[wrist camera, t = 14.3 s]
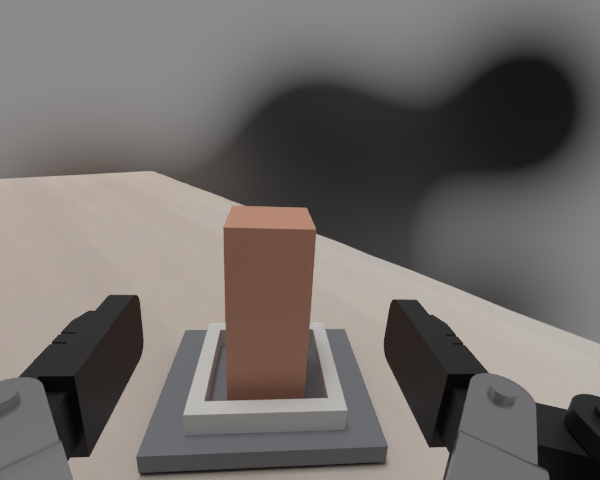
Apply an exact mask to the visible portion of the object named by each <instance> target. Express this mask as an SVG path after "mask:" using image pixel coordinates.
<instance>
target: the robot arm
mask: <svg viewBox="0 0 600 480" xmlns="http://www.w3.org/2000/svg"><path fill="white" fill-rule="evenodd" d="M142 350H143V330H142V320H141V310H140V301H139V298H138V296H137V295H109V296H108V297H107V298H106V299H105V300H104V301H103V302H102V304H101V305H100V306H99V307H98V308H97V309H96V310H95V311H88V312H86V313H84V314H83V315H81V316H79V317H78V318H76V319H74V320H72V321H71V322H70V323H69V325H68V326H67V327H66V328H65V329H64V330H63V331H62V332H61V335H58V336H57V337H56V338H55V339H54V340H53V341H52V344H50V345H49V346H48V347H47V348H46V349H45V350H44V351H43V352H42V353H41V354H40V355H39V356H38V357H37V358H36V359H35V360H34V361H33V363H32V364H31V365H30V366H29V367H28V368H27V369H26V370H25V371H24V372H23V373H22V374H21V375H20V376H19V377H18V378H12V379H7V380H4V381H1V382H0V480H73V478H72V475H71V471H70V468H69V465H68V460H69V458H70V457H89V456H90V454H91V452H92V450H93V449H94V447H95V445H96V443H97V441H98V439H99V437H100V435H101V433H102V431H103V429H104V427H105V425H106V424H107V422H108V420H109V418H110V416H111V414H112V412H113V410H114V408H115V406H116V404H117V402H118V400H119V399H120V397H121V395H122V393H123V391H124V389H125V387H126V385H127V383H128V381H129V379H130V377H131V376H132V374H133V372H134V370H135V368H136V366H137V364H138V362H139V360H140V358H141V355H142ZM384 352H385V357H386V359H387V362H388V364H389V366H390V368H391V370H392V372H393V374H394V376H395V378H396V380H397V382H398V384H399V386H400V388H401V390H402V392H403V394H404V397H405V399H406V401H407V403H408V405H409V407H410V409H411V411H412V413H413V415H414V417H415V419H416V421H417V423H418V425H419V427H420V429H421V431H422V433H423V435H424V437H425V440H426V442H427V444H428V446H429V447H446V448H447V449H448V451H449V453H450V454H449V458H448V461H447V465H446V469H445V473H444V477H443V480H600V397H598V396H594V395H589V394H580V395H576V396H574V397H573V398H572V400H571V403H570V405H569V408H568V410H566V409H562V408H557V407H553V406H548V405H544V404H539V403H535V401H534V399H533V398H532V396H531V395H530V394H529V393H528V392H527V391H526V390H525V389H524V388H523V387H521V386H520V385H518V384H517V383H515V382H513V381H511V380H510V379H507V378H505V377H502V376H499V375H495V374H490V373H488V372H487V370H486V369H485V368H484V367H483V366H482V365H481V363H480V362H479V361H478V360H477V359H476V358H475V356H474V355H473V354H472V353H471V352H470V351H469V349H468V348H467V347H466V346H465V345H463V342H462V341H461V340H460V339H459V338H458V337H456V334H455V333H454V332H453V331H452V330H451V328H450V327H449V326H448V325H447V324H446V323H444V322H443V321H441V320H440V319H438V318H437V317H435V316H434V315H429V314H428V313H427V312H426V310H425V309H424V308H423V307H422V306H421V304H420V303H419V302H418V301H417V300H392V302H391V304H390V309H389V314H388V320H387V326H386V332H385V338H384Z"/></svg>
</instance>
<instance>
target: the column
mask: <svg viewBox="0 0 600 480" xmlns="http://www.w3.org/2000/svg"><path fill="white" fill-rule="evenodd" d="M315 240H316V228H315V226H314V224H313V221H312V219H311V217H310V214H309V212H308V210H307V208H290V207H257V206H232V208H231V211H230V213H229V216H228V218H227V220H226V223H225V225H224V272H225V321H226V369H227V401H236V400H274V399H305V384H306V370H307V356H308V341H309V327H310V312H311V298H312V283H313V269H314V254H315Z"/></svg>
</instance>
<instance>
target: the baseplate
mask: <svg viewBox="0 0 600 480" xmlns="http://www.w3.org/2000/svg"><path fill="white" fill-rule="evenodd" d="M387 448H388V446H387V443H386V440H385V437H384V435H383V432H382V429H381V427H380V424H379V421H378V418H377V416H376V413H375V410H374V408H373V405H372V402H371V399H370V397H369V394H368V391H367V389H366V386H365V383H364V381H363V378H362V375H361V372H360V370H359V367H358V364H357V362H356V359H355V356H354V353H353V351H352V348H351V345H350V343H349V340H348V337H347V334H346V332H345V329H325V327H324V323H310V327H309V341H308V356H307V370H306V384H305V399H274V400H236V401H227V369H226V323H209V326H208V329H207V330H186V331H185V333H184V336H183V338H182V341H181V343H180V346H179V349H178V351H177V354H176V356H175V359H174V361H173V364H172V367H171V369H170V372H169V374H168V377H167V379H166V382H165V385H164V387H163V390H162V392H161V395H160V397H159V400H158V403H157V405H156V408H155V410H154V413H153V415H152V418H151V421H150V423H149V426H148V428H147V431H146V434H145V436H144V439H143V441H142V444H141V446H140V449H139V452H138V454H137V465H138V472H139V473H151V472H172V471H194V470H216V469H238V468H260V467H282V466H304V465H326V464H348V463H370V462H385V460H386V454H387Z"/></svg>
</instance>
